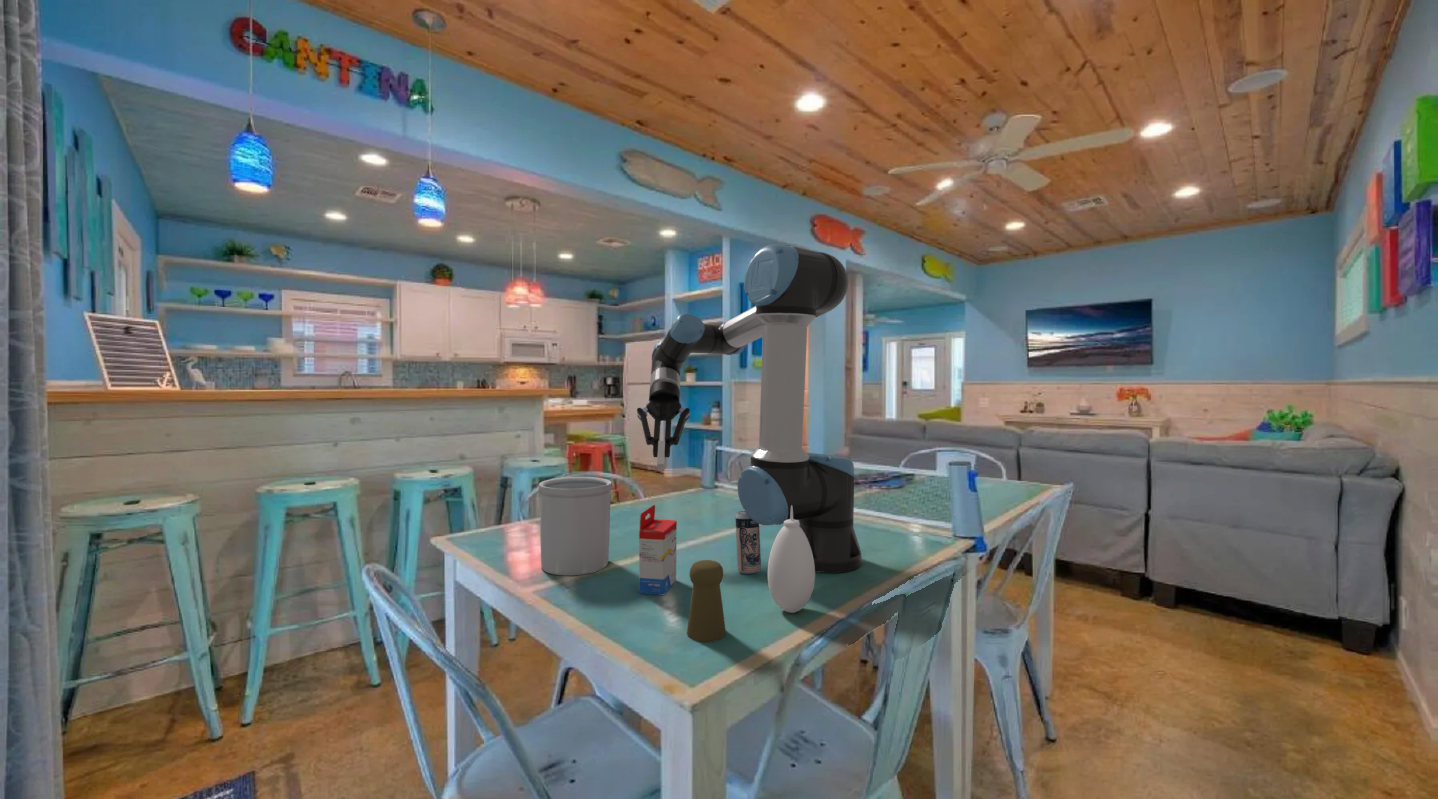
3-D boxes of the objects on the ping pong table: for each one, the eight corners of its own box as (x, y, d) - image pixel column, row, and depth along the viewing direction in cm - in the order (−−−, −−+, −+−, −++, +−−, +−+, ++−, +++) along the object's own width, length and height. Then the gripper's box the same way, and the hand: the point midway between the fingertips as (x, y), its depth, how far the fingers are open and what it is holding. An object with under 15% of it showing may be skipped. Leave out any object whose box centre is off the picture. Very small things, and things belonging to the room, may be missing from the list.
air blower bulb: (759, 613, 92) (760, 506, 92) (779, 598, 99) (780, 498, 98) (803, 624, 88) (804, 512, 88) (821, 607, 95) (822, 503, 94)
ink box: (664, 596, 100) (664, 515, 99) (638, 593, 101) (638, 514, 100) (677, 579, 108) (677, 504, 108) (653, 577, 109) (653, 503, 109)
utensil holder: (587, 549, 127) (586, 473, 126) (626, 564, 117) (625, 482, 116) (526, 564, 116) (525, 481, 116) (563, 583, 106) (562, 492, 105)
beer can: (744, 575, 109) (742, 514, 110) (733, 571, 113) (731, 511, 114) (765, 572, 111) (762, 512, 112) (754, 567, 116) (751, 509, 116)
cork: (686, 624, 88) (686, 556, 88) (723, 623, 89) (724, 555, 88) (687, 642, 82) (687, 569, 82) (727, 641, 83) (728, 568, 82)
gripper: (690, 400, 141) (690, 477, 125) (639, 400, 141) (632, 477, 125) (690, 379, 136) (690, 457, 120) (637, 379, 135) (629, 457, 119)
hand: (660, 467), depth 122 cm, fingers closed
